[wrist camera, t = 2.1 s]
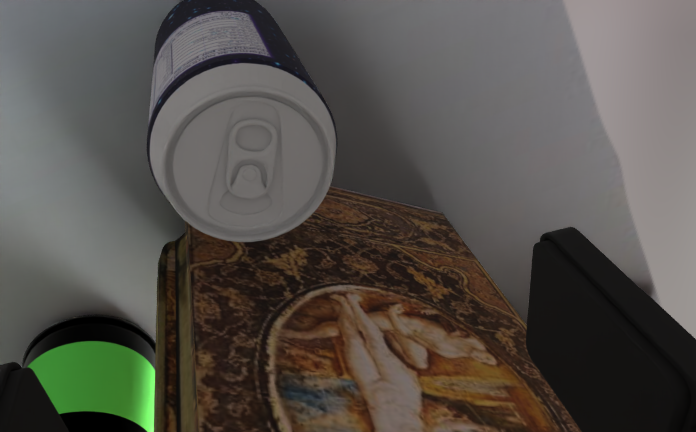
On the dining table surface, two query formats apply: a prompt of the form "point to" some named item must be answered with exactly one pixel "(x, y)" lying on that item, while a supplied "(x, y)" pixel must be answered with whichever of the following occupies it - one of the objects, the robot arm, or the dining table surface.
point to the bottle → (97, 373)
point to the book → (343, 331)
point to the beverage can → (236, 123)
